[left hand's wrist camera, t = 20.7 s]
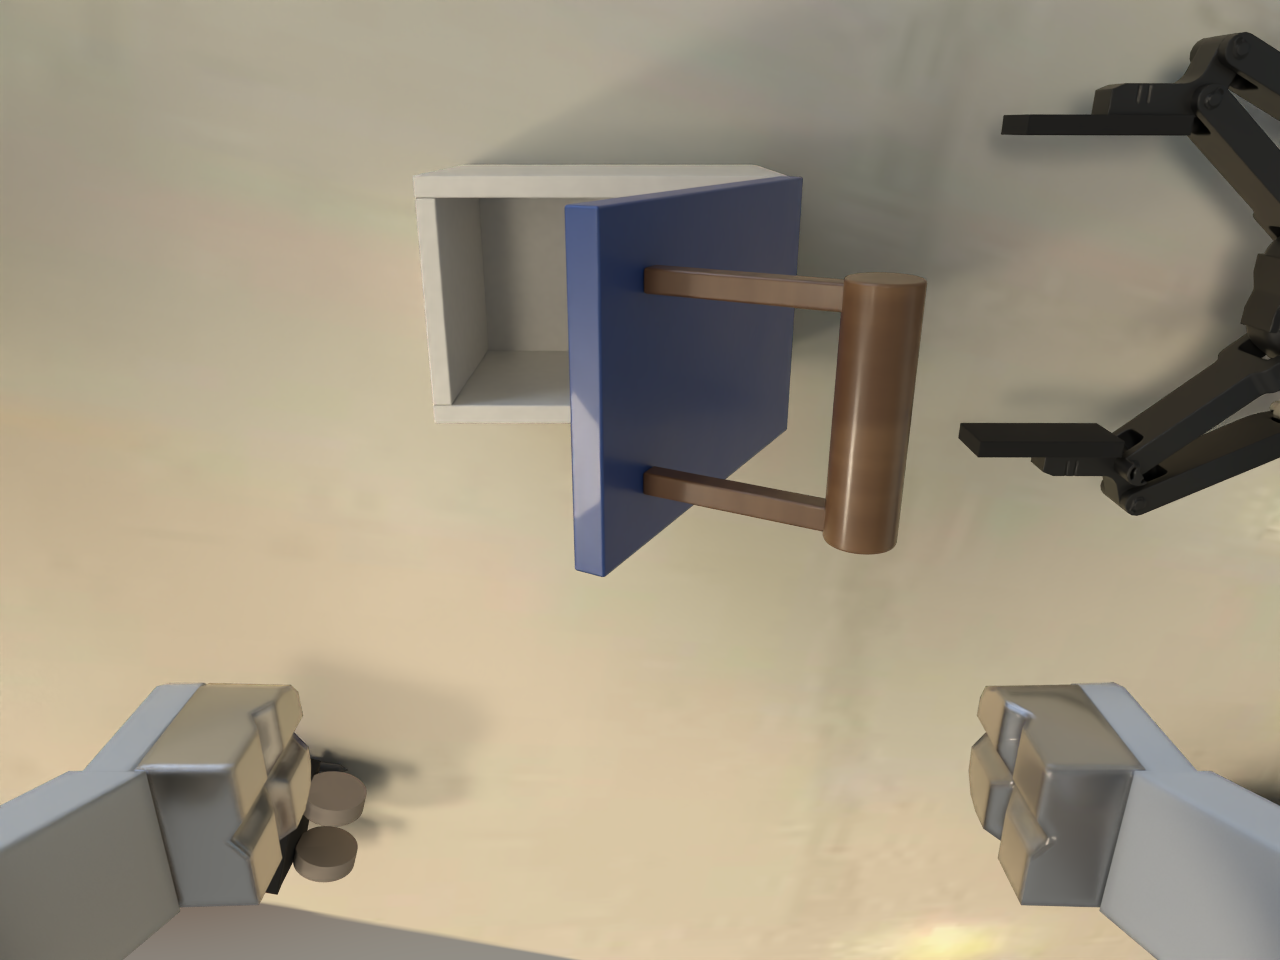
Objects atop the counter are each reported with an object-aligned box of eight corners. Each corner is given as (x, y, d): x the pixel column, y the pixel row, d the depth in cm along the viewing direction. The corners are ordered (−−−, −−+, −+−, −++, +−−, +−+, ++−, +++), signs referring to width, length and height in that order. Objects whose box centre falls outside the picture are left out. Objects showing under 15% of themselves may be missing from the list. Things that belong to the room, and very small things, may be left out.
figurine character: (381, 732, 58) (132, 699, 55) (361, 819, 51) (74, 786, 48) (366, 812, 60) (126, 784, 57) (345, 905, 53) (70, 879, 50)
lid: (573, 570, 25) (862, 646, 22) (563, 204, 22) (908, 220, 18) (764, 426, 37) (970, 459, 34) (778, 175, 34) (1010, 182, 30)
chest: (476, 362, 48) (433, 423, 38) (463, 164, 44) (411, 175, 34) (746, 362, 48) (774, 424, 38) (755, 164, 44) (788, 175, 34)
